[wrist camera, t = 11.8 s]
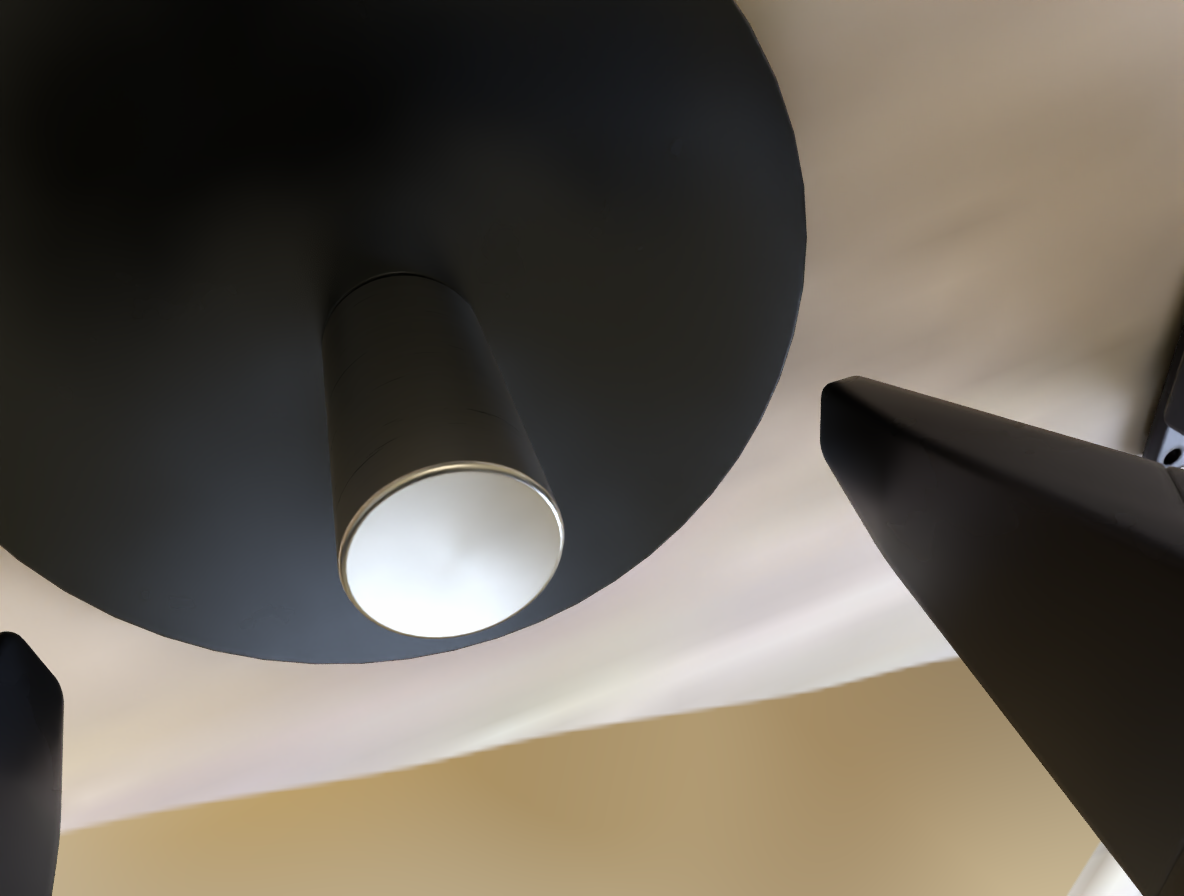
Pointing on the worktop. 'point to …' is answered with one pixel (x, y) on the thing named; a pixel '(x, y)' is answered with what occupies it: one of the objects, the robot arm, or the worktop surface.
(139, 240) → the tin lid
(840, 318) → the worktop surface
